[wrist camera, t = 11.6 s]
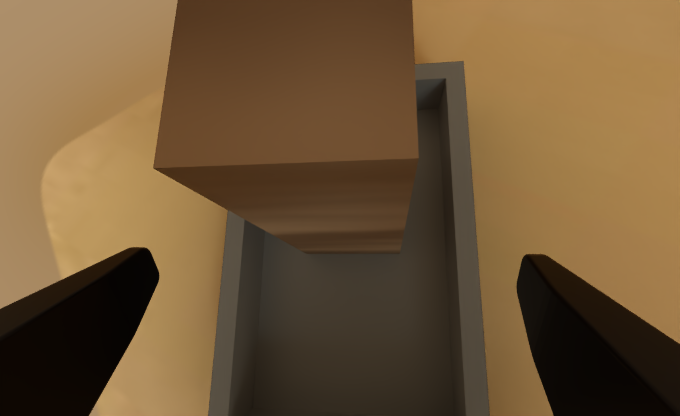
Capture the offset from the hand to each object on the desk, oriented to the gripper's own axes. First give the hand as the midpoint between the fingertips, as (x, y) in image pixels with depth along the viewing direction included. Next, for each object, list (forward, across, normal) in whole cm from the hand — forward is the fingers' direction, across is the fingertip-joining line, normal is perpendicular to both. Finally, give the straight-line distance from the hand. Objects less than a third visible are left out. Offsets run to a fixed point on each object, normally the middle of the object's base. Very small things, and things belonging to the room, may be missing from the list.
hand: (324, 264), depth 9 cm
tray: (+8, 0, +6) cm, 10 cm away
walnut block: (+9, 0, +4) cm, 10 cm away
